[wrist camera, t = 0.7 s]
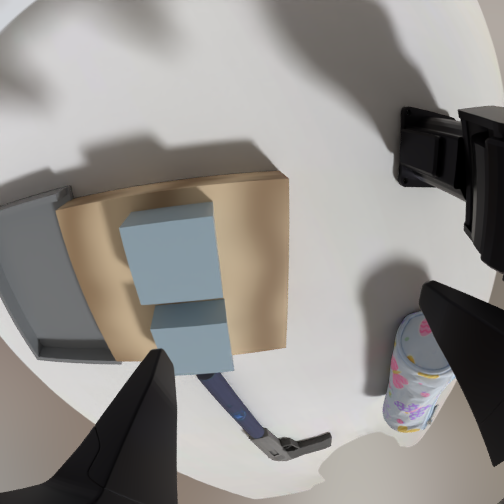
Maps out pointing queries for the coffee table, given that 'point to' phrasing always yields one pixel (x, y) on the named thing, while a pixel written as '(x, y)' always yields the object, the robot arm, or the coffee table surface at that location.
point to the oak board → (229, 246)
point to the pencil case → (415, 376)
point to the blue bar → (258, 434)
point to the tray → (46, 283)
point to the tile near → (173, 253)
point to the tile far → (194, 336)
